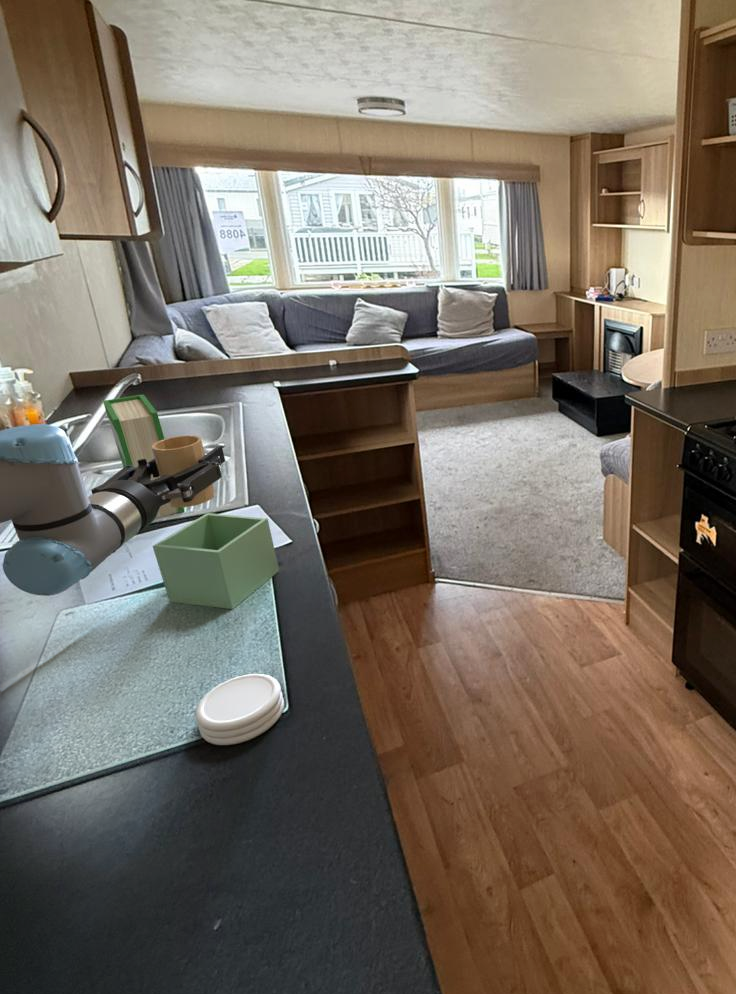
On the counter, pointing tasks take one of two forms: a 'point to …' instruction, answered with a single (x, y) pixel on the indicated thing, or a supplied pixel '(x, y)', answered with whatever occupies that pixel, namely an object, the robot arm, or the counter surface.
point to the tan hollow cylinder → (181, 463)
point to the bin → (217, 560)
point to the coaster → (239, 709)
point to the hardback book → (136, 434)
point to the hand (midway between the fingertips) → (198, 454)
